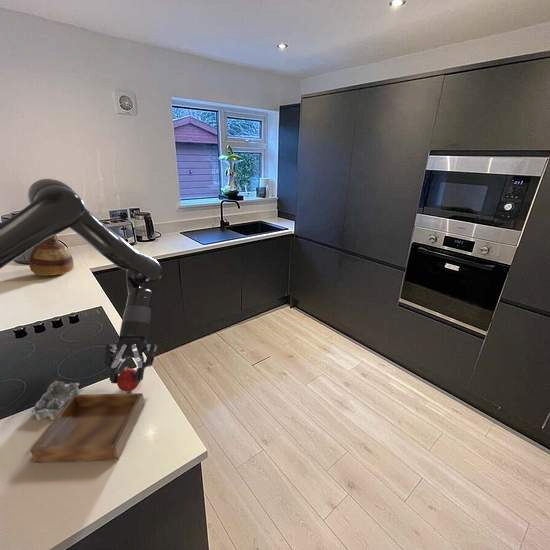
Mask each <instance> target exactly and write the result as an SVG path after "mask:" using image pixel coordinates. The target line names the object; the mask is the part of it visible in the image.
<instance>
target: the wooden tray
mask: <svg viewBox="0 0 550 550" xmlns="http://www.w3.org/2000/svg"><path fill="white" fill-rule="evenodd" d="M144 399H145V398H144V394H143V393H142V392H141V393H140V392H139V393H100V394H99V393H93V394H92V393H91V394H90V393H89V394H87V393H86V394H79V395H73V397H72V398H71V399H70V400H69V402H68V403H67V404H66V405H65V407H64V408H63V409H62V410H61V412H60V413H59V414H58V416H57V417H56V418H55V419H54V420H52V422H51V423H50V425H48V426H47V428H46V430H44V432H43V433H42V434H41V436H40V437H39V438H38V439H37V441H36V442H35V443H34V445H33V446H32V447H31V448H30V450H29V451H30V454H31V456H32V459H33V461H34V463H35V464H42V463H46V464H47V463H70V462H71V463H75V462H101V461H102V462H103V461H106V462H107V461H119V460H120V458H121V456H122V454H123V452H124V449H125V448H126V446H127V443H128V441H129V439H130V437H131V434H132V432H133V431H134V429H135V426H136V425H137V422H138V420H139V418H140V416H141V414H142V412H143V409H144V407H145V404H146V403H145V400H144Z"/></svg>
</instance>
